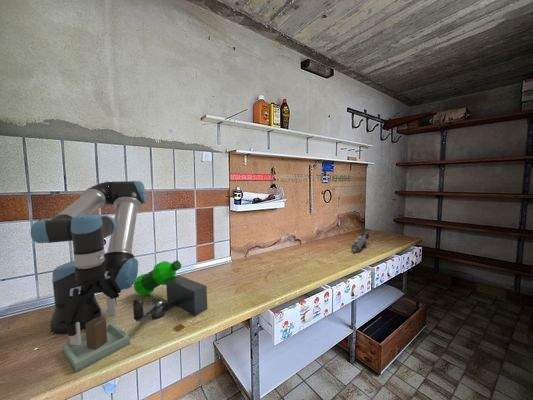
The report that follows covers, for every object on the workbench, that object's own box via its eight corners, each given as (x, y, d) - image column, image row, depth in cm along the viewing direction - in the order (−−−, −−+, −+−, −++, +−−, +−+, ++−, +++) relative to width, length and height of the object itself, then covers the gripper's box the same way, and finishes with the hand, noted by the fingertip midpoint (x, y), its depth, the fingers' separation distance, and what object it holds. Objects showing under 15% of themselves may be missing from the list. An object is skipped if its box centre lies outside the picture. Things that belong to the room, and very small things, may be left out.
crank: (155, 301, 94) (154, 283, 93) (166, 301, 93) (165, 284, 93) (129, 323, 79) (128, 302, 78) (143, 324, 78) (141, 303, 78)
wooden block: (95, 350, 71) (93, 325, 71) (86, 347, 72) (84, 323, 72) (108, 341, 75) (106, 318, 75) (98, 339, 76) (97, 316, 76)
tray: (62, 351, 72) (61, 344, 72) (112, 328, 83) (112, 322, 83) (76, 372, 64) (75, 364, 64) (130, 343, 75) (129, 336, 75)
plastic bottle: (151, 283, 116) (188, 261, 110) (144, 302, 108) (183, 280, 102) (134, 273, 112) (172, 250, 105) (125, 292, 103) (165, 268, 97)
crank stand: (143, 312, 93) (141, 288, 93) (179, 296, 107) (178, 275, 106) (175, 333, 80) (173, 305, 79) (212, 311, 93) (211, 287, 92)
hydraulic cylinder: (371, 240, 191) (370, 229, 189) (358, 259, 162) (358, 246, 160) (361, 239, 195) (361, 228, 193) (348, 257, 167) (347, 244, 165)
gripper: (61, 282, 59) (68, 359, 61) (129, 252, 84) (133, 308, 85) (35, 281, 60) (43, 358, 62) (110, 252, 85) (114, 307, 86)
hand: (95, 329), depth 73 cm, fingers open, 13 cm apart
